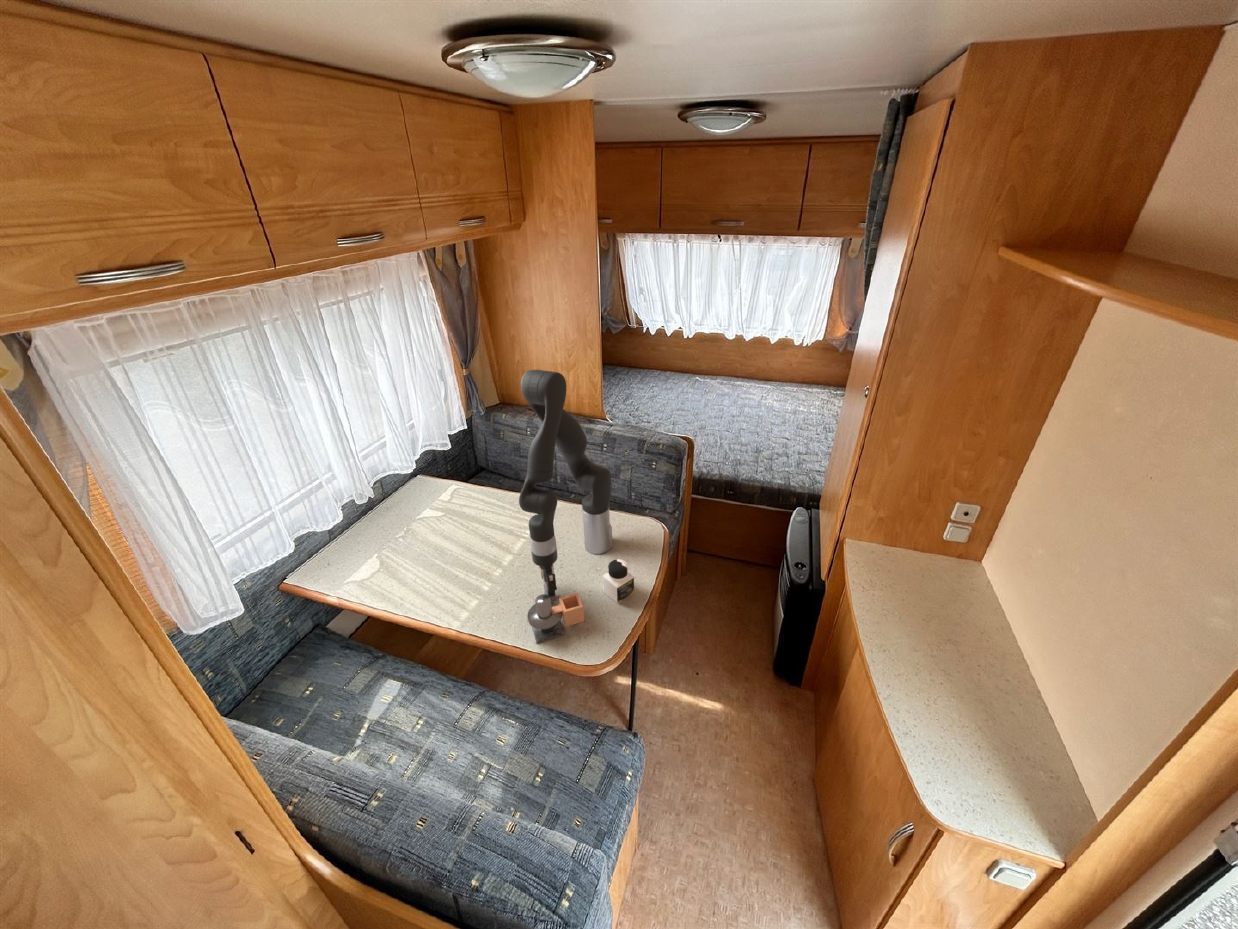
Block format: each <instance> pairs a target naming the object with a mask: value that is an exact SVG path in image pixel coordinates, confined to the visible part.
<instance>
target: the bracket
mask: <svg viewBox="0 0 1238 929" xmlns="http://www.w3.org/2000/svg"><path fill="white" fill-rule="evenodd" d="M558 602H559V604H558V606H554V607H552V615H553V614H557V613H560V612H562V621H563V624H564V626H565V627H568V626H569V627H570V626H573V625H575V624H579V623H582V622H585V611H584V610H585V609H584V605H583V602H582V599H581V598H580V595H579V593H578V592H577V593H573V594H569V595H565V596H562V597H559V598H558Z"/></svg>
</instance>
